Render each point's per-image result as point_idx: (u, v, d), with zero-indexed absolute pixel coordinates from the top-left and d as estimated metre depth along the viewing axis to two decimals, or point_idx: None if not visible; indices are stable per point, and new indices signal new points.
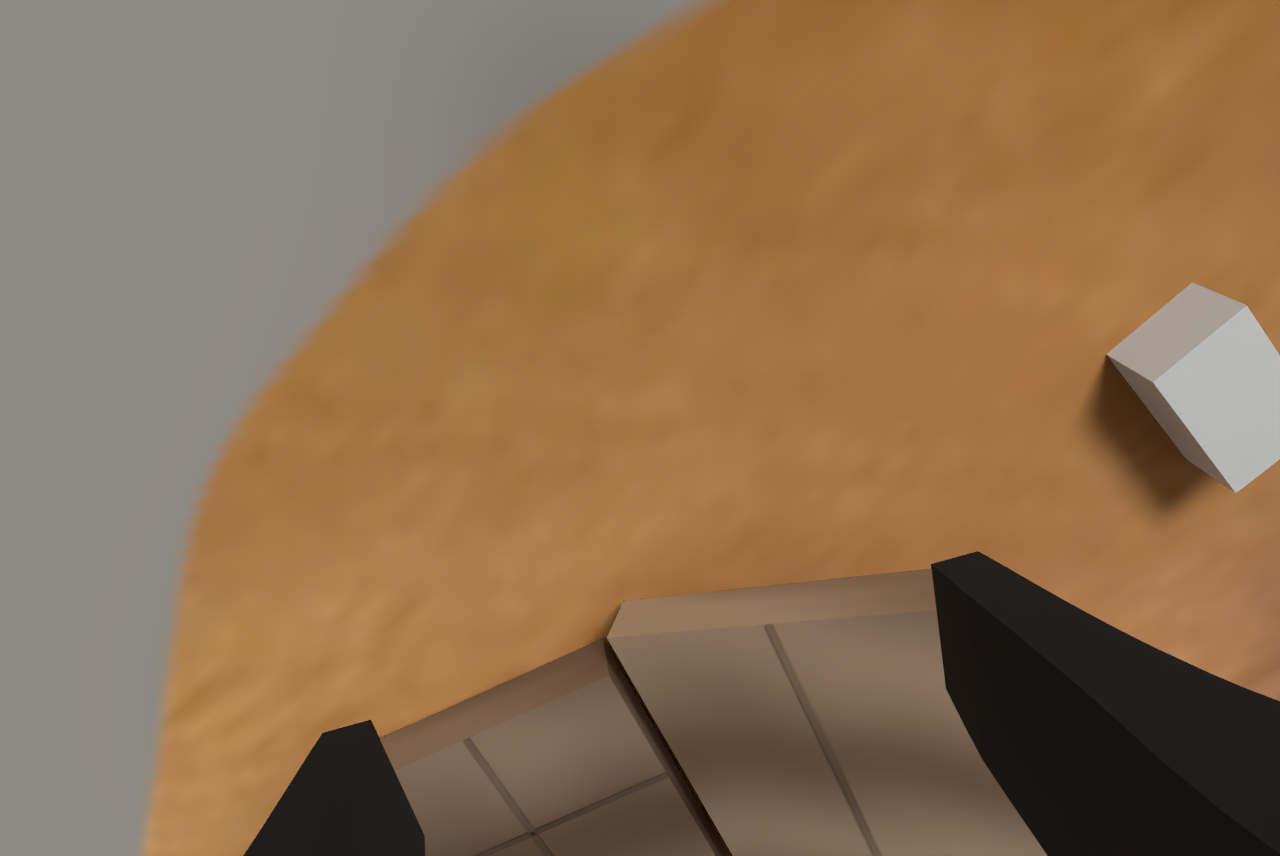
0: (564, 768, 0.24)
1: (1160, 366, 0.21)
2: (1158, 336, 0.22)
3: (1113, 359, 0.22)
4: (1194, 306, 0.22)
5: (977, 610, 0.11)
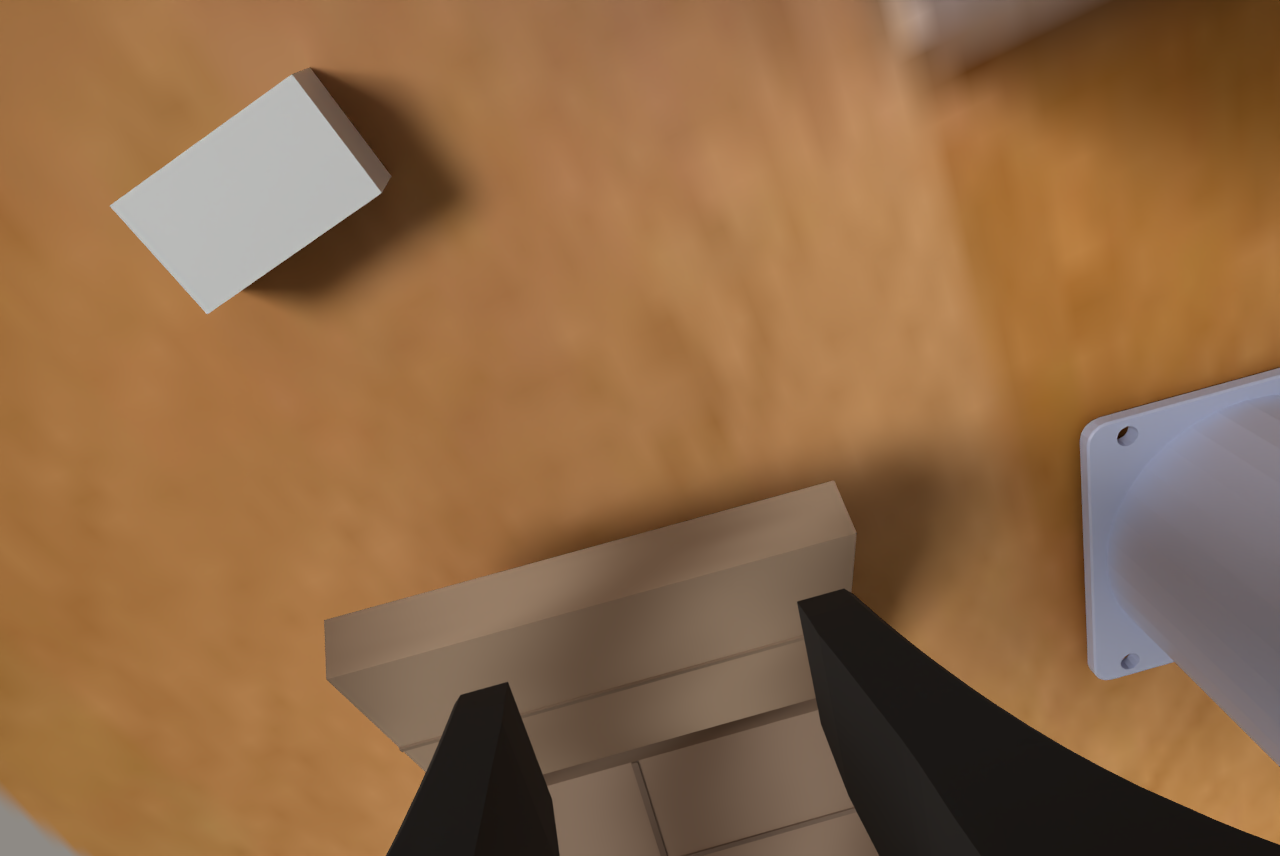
0: (597, 836, 0.25)
1: (196, 293, 0.18)
2: None
3: None
4: None
5: (828, 652, 0.11)
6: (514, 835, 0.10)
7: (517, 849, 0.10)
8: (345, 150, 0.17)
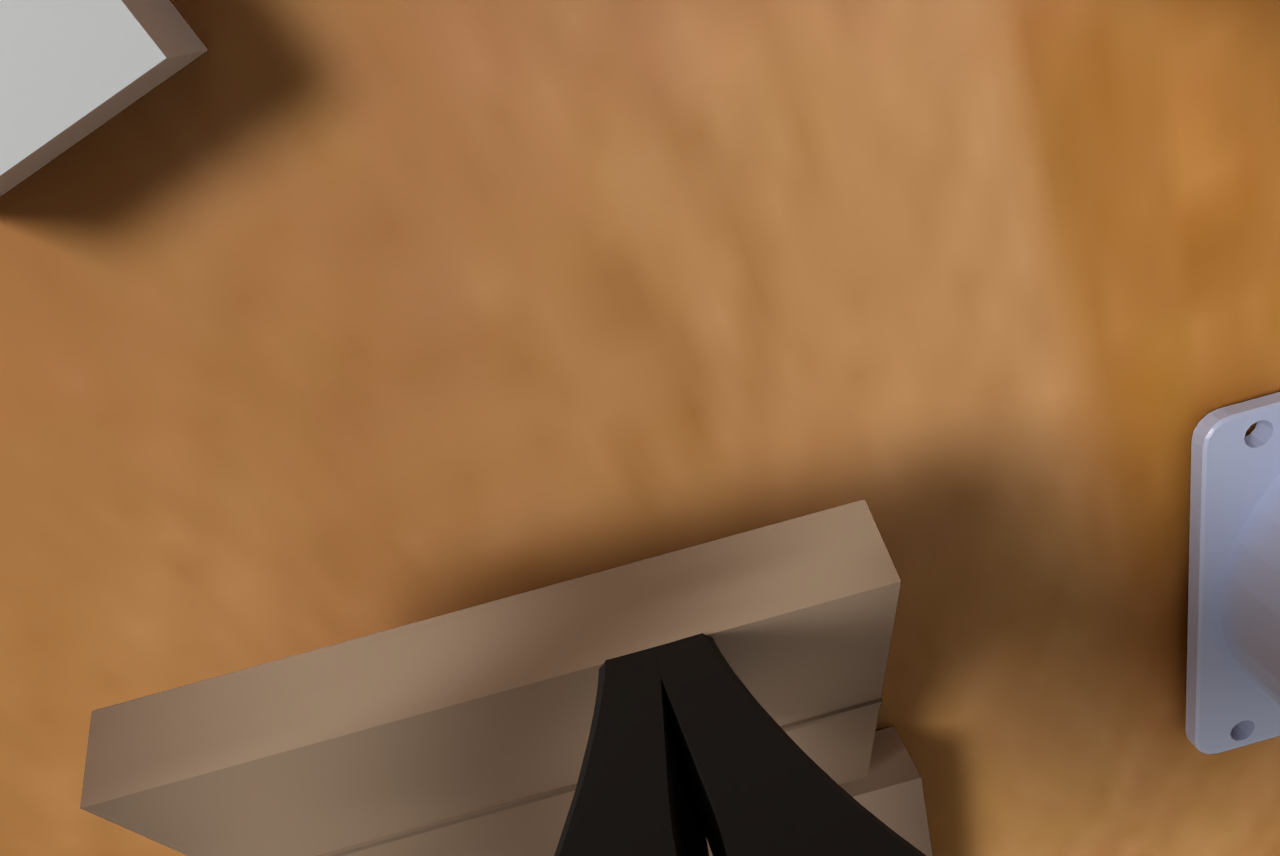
0: None
1: None
2: None
3: None
4: None
5: (668, 696, 0.11)
6: (681, 788, 0.10)
7: (684, 802, 0.10)
8: None
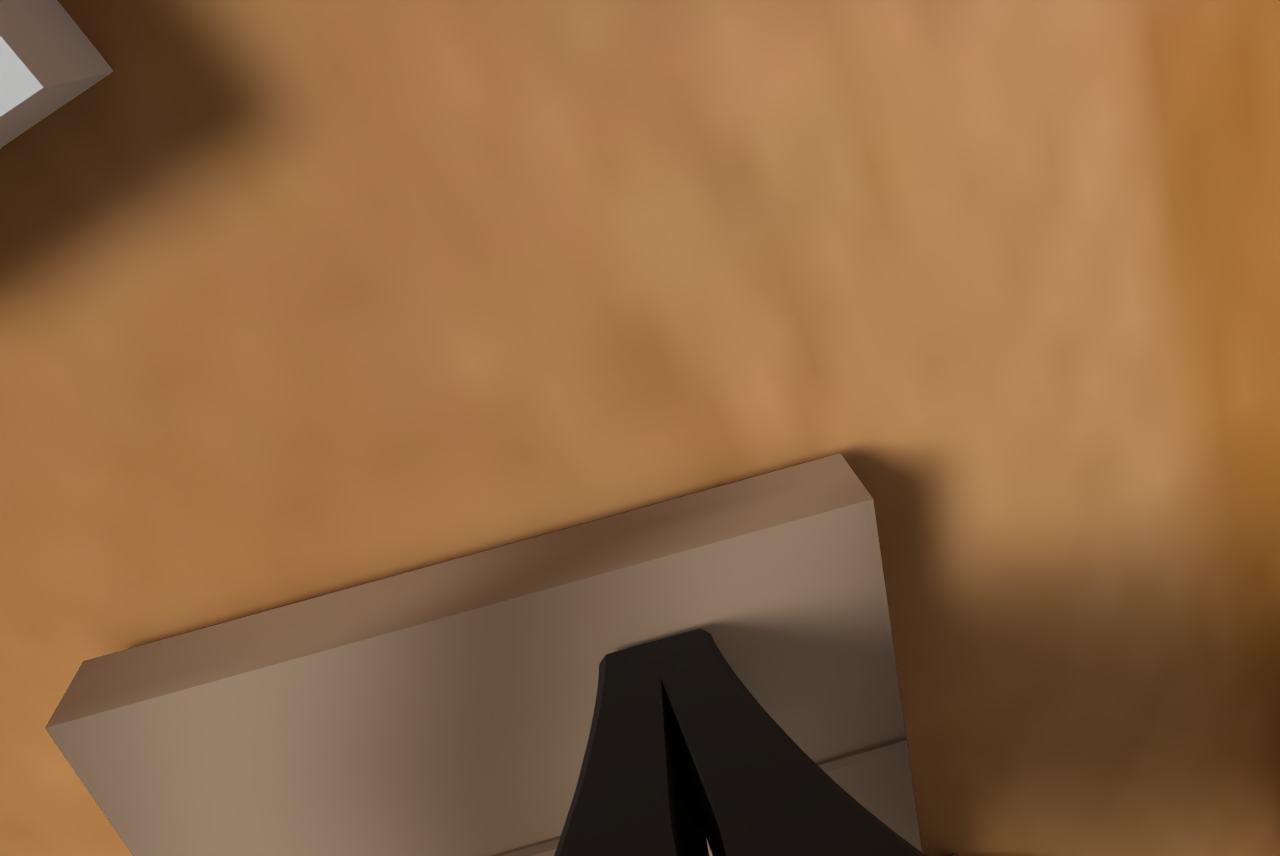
0: None
1: None
2: None
3: None
4: None
5: (668, 696, 0.11)
6: (681, 788, 0.10)
7: (684, 802, 0.10)
8: None
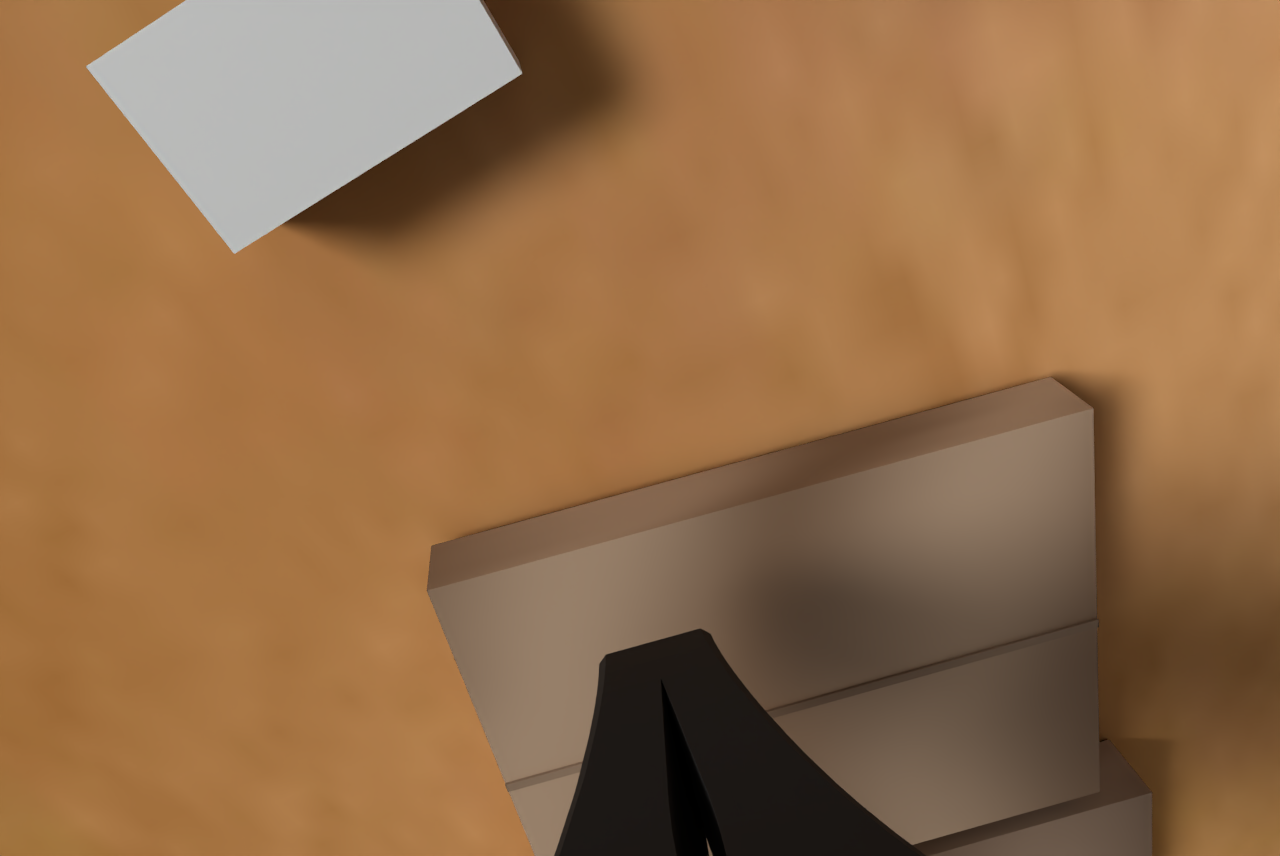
0: None
1: (217, 220, 0.12)
2: None
3: None
4: None
5: (668, 696, 0.11)
6: (681, 788, 0.10)
7: (684, 802, 0.10)
8: None
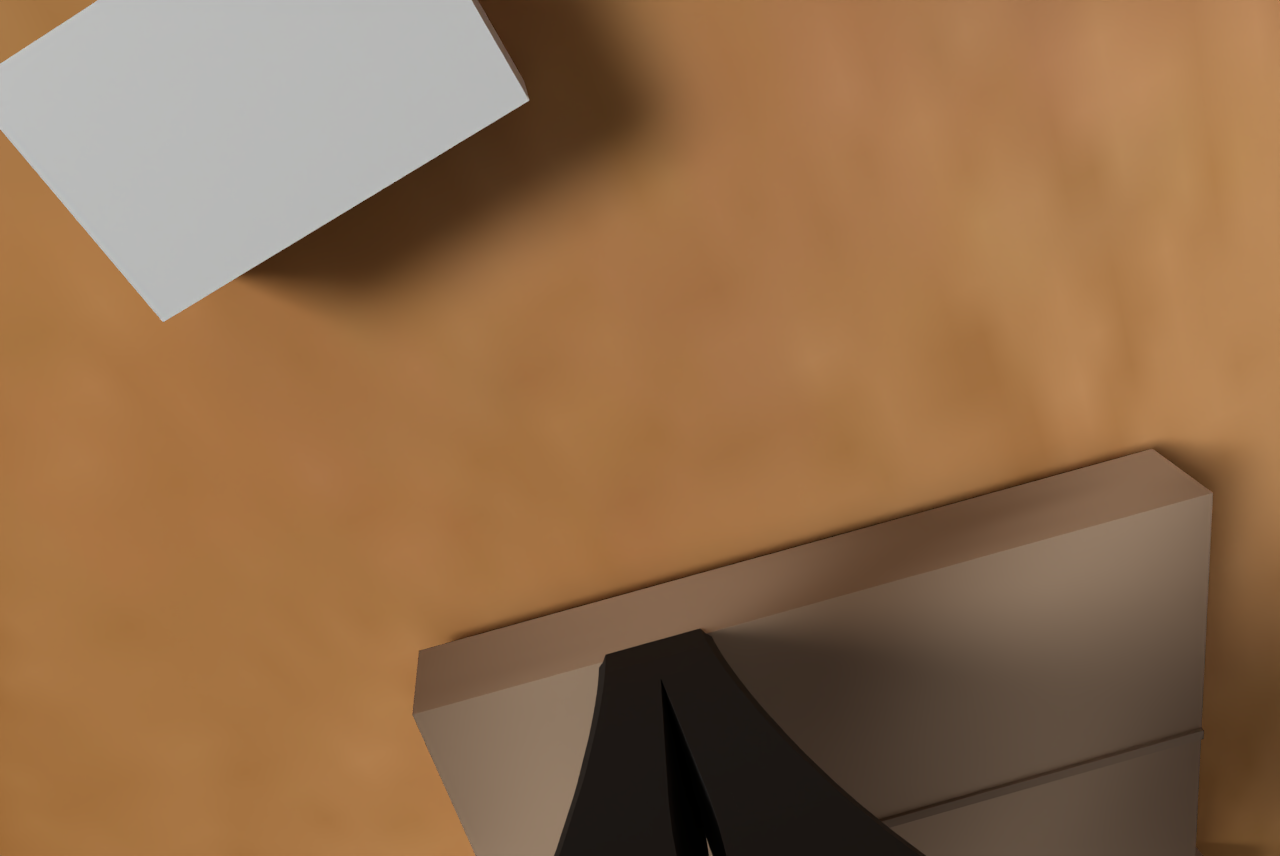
0: None
1: (143, 279, 0.09)
2: None
3: None
4: None
5: (668, 696, 0.11)
6: (681, 788, 0.10)
7: (684, 802, 0.10)
8: (466, 4, 0.08)
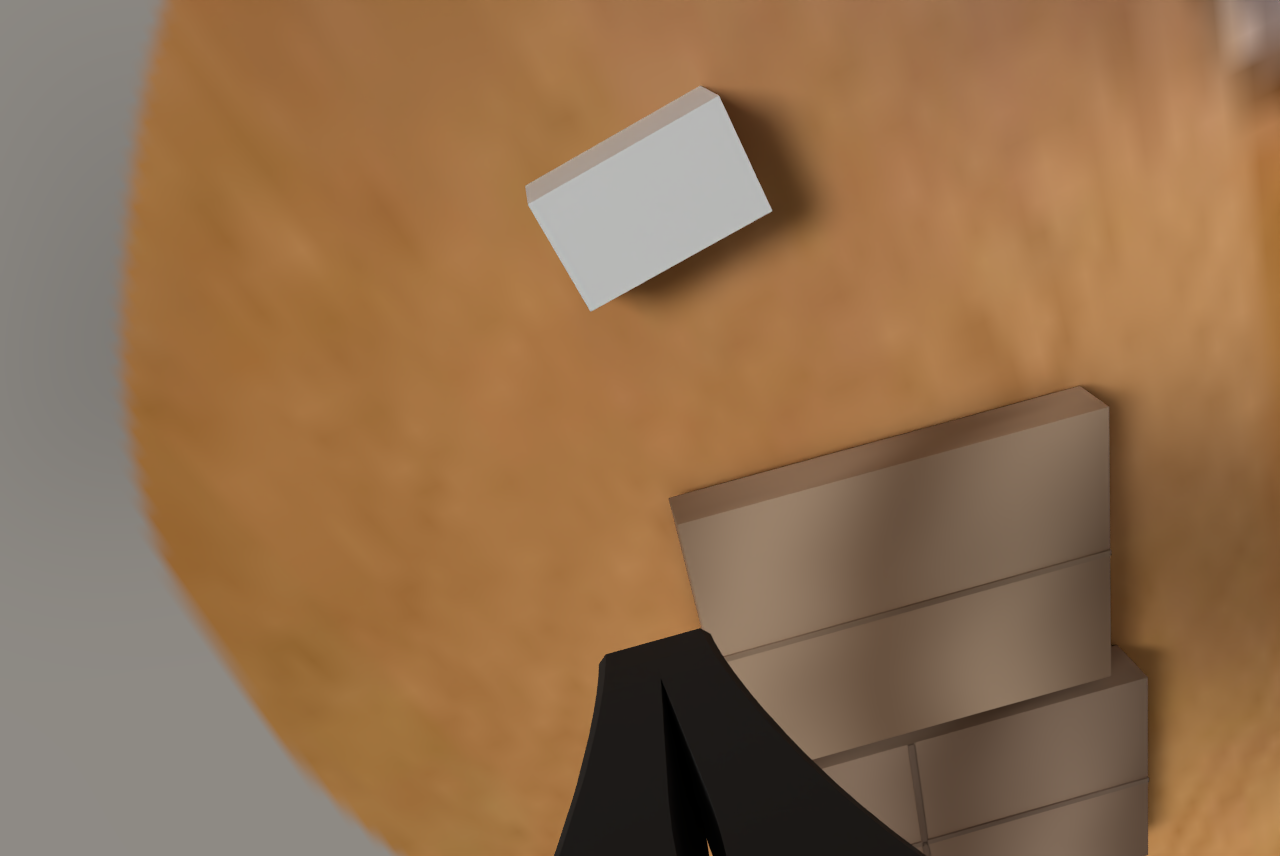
0: None
1: (579, 290, 0.19)
2: None
3: None
4: None
5: (668, 696, 0.11)
6: (681, 788, 0.10)
7: (684, 802, 0.10)
8: (749, 169, 0.18)
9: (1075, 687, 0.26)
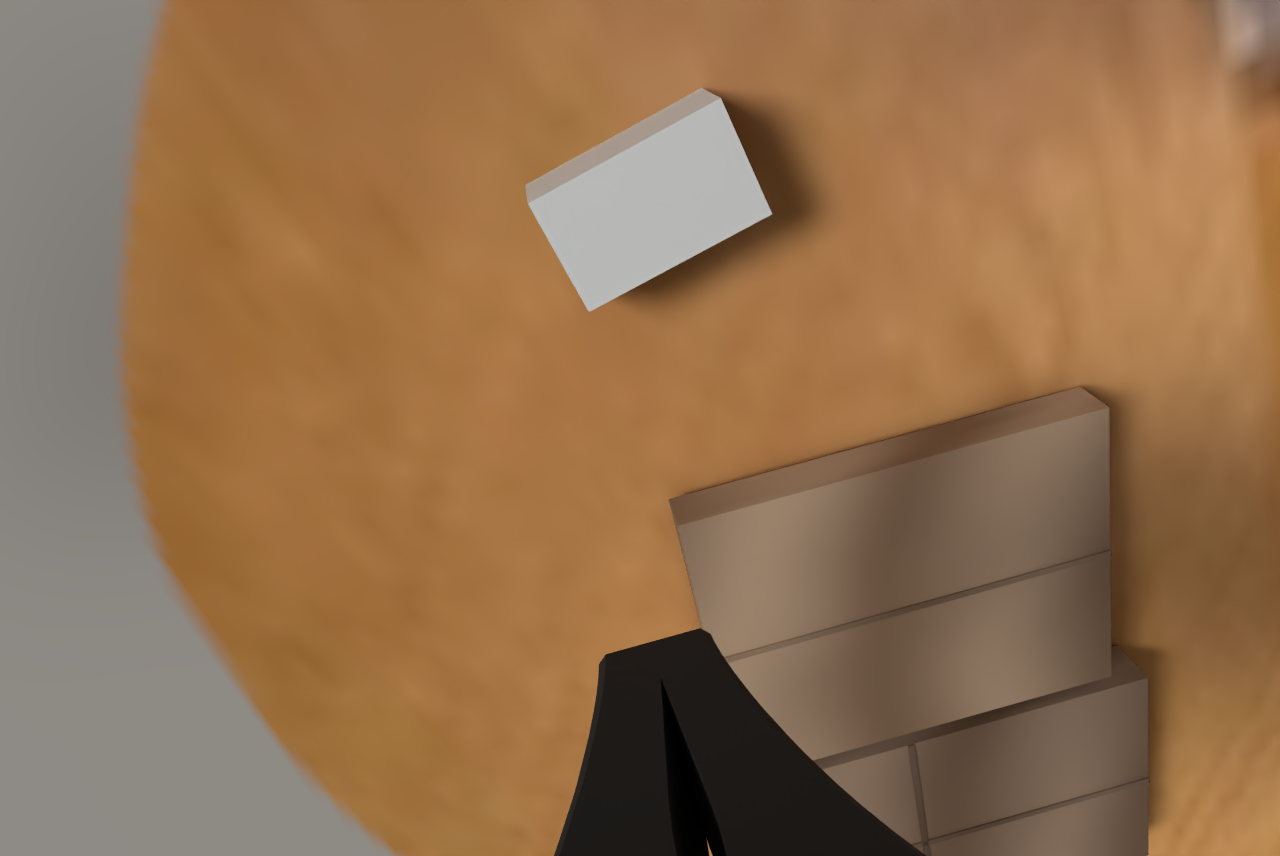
0: None
1: (578, 291, 0.19)
2: None
3: None
4: None
5: (668, 696, 0.11)
6: (681, 788, 0.10)
7: (684, 802, 0.10)
8: (750, 172, 0.18)
9: (1075, 687, 0.26)
